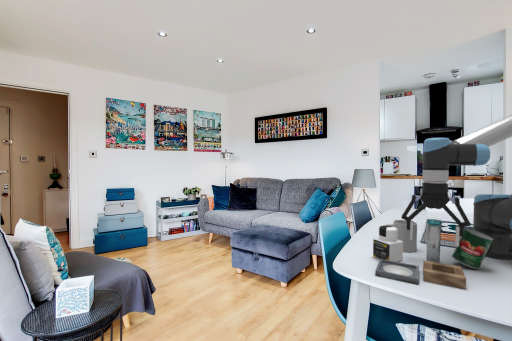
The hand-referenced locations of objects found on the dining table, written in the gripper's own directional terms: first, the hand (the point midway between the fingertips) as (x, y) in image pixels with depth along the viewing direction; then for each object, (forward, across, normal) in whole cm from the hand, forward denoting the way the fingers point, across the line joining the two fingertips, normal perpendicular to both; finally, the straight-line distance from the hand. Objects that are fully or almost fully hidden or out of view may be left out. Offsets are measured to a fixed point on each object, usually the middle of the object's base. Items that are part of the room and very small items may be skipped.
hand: (433, 242), depth 93 cm
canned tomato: (+6, -9, -2) cm, 11 cm away
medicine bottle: (+7, +14, +5) cm, 17 cm away
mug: (+7, +11, -11) cm, 17 cm away
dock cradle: (+7, +10, +17) cm, 21 cm away
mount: (+7, -2, +14) cm, 16 cm away
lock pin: (+7, 0, 0) cm, 7 cm away
